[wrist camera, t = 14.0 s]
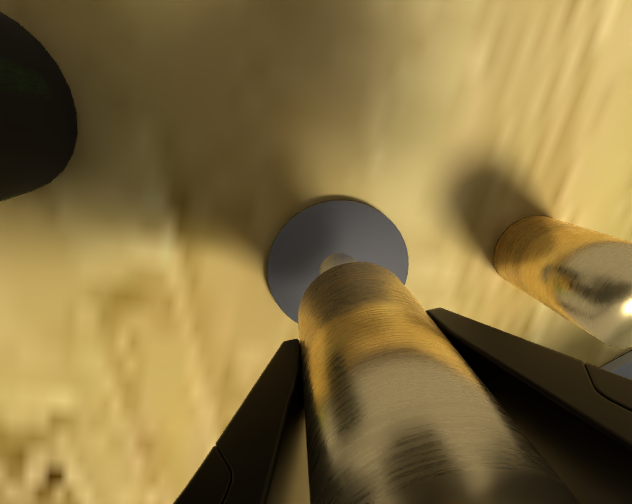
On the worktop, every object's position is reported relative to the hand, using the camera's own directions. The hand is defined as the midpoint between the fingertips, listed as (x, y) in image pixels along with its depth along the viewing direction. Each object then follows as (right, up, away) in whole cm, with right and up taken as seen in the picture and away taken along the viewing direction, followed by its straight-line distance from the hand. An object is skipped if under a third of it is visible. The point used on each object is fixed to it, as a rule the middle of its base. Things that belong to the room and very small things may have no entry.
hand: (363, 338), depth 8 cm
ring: (0, +2, +4) cm, 5 cm away
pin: (+8, +2, +5) cm, 9 cm away
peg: (0, 0, +1) cm, 1 cm away
